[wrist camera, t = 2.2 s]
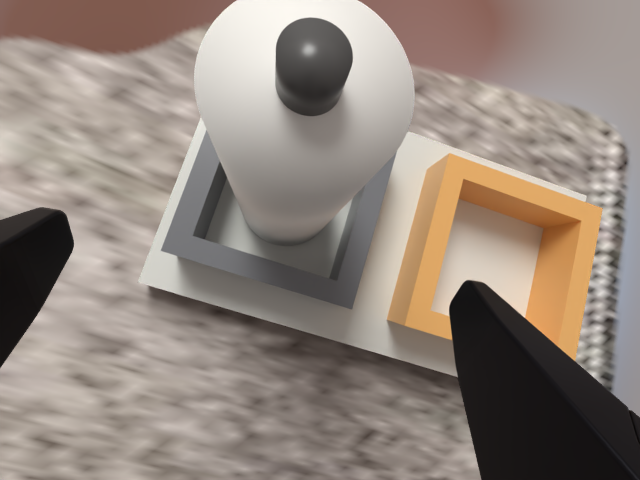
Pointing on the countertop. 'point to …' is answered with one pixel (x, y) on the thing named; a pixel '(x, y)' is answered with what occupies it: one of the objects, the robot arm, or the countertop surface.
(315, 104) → the white bottle
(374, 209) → the dock
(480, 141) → the countertop surface
